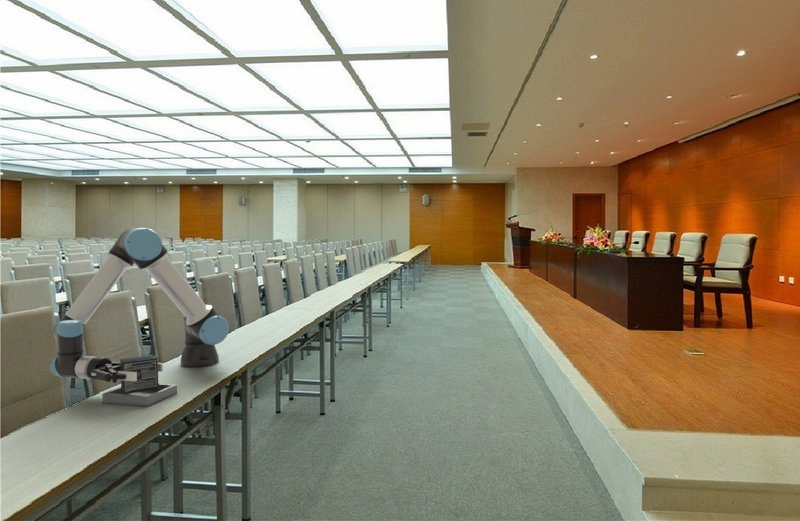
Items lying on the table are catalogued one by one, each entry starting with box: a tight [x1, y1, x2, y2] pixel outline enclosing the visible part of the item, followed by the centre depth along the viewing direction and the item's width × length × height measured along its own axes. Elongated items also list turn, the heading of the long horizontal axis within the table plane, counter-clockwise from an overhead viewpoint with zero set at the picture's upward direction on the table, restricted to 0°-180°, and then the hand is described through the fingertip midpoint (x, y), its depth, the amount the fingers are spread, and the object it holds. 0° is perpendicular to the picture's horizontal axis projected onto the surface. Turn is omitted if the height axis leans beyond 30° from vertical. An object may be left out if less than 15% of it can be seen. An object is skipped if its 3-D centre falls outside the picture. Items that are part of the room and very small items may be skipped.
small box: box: [119, 354, 159, 394], centre depth 168 cm, size 11×6×10 cm, turn 125°
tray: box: [101, 382, 178, 408], centre depth 169 cm, size 14×17×3 cm
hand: (149, 372), depth 167 cm, fingers closed on small box, 11 cm apart
